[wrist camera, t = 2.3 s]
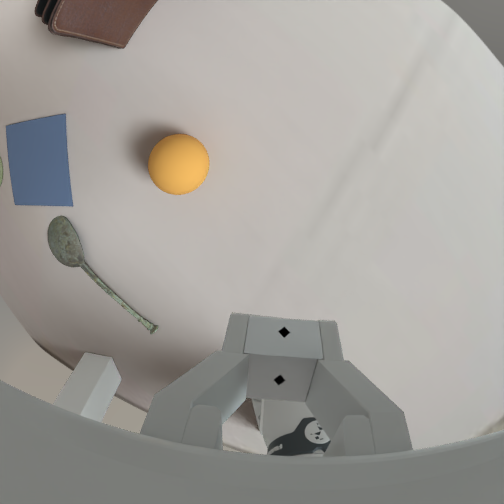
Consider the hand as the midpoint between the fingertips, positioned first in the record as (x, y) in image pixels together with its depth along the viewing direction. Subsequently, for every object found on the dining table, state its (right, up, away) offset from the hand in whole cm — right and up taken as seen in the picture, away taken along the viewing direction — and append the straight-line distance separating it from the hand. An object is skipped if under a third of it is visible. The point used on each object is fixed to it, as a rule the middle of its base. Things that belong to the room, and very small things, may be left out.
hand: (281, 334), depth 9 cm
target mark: (-30, +14, +24) cm, 41 cm away
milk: (-28, -18, +40) cm, 52 cm away
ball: (-8, +11, +20) cm, 24 cm away
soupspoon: (-22, -1, +32) cm, 39 cm away
